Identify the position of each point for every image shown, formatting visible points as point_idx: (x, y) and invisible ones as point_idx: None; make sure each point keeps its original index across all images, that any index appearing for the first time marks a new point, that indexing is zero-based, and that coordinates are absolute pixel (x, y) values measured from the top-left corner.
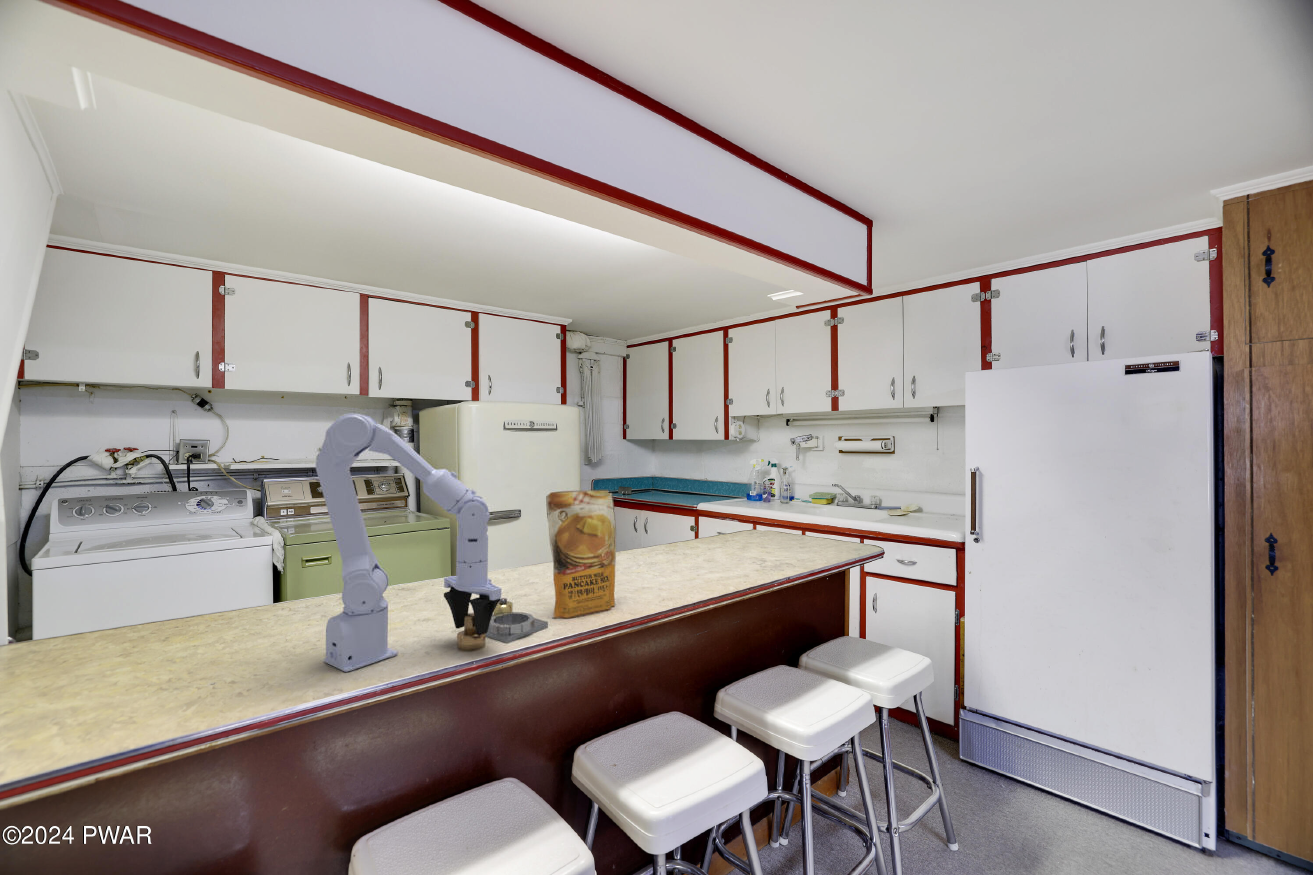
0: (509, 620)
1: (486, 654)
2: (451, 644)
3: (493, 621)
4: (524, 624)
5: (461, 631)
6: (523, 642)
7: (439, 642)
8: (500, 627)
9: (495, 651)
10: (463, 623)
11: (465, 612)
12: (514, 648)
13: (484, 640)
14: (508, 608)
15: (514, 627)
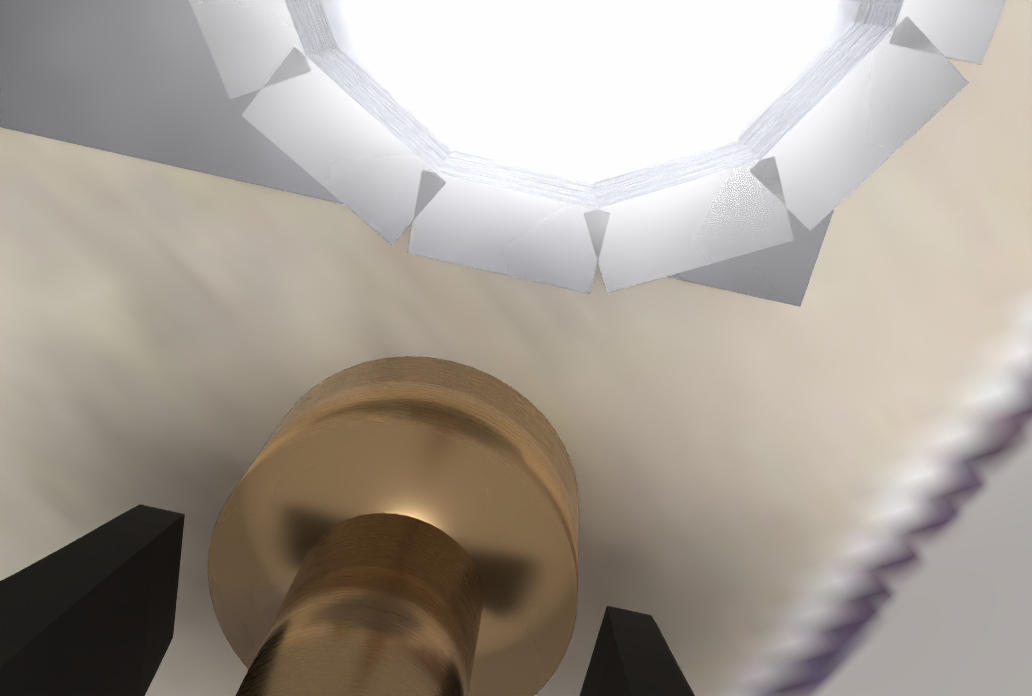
0: None
1: (733, 619)
2: (187, 538)
3: (367, 120)
4: (999, 13)
5: (222, 583)
6: (983, 167)
7: (26, 539)
8: (641, 281)
9: (781, 528)
10: (157, 584)
11: (69, 654)
12: (959, 382)
13: (571, 502)
14: None
15: (860, 176)
